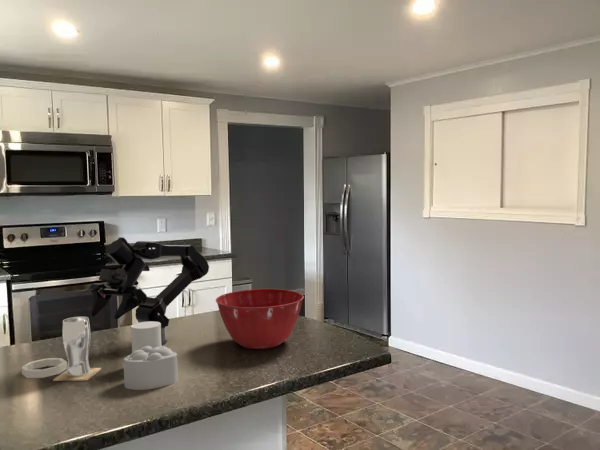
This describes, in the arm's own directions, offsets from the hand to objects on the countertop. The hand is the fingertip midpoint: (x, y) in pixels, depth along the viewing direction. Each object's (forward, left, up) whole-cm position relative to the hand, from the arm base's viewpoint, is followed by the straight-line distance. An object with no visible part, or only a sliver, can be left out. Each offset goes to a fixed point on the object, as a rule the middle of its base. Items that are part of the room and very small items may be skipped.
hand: (103, 317), depth 150 cm
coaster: (+3, +10, -14) cm, 17 cm away
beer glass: (+3, +9, -13) cm, 17 cm away
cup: (-14, +3, -14) cm, 20 cm away
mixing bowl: (-44, -19, -14) cm, 50 cm away
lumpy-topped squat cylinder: (-19, +15, -14) cm, 28 cm away
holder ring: (+14, +7, -14) cm, 21 cm away
